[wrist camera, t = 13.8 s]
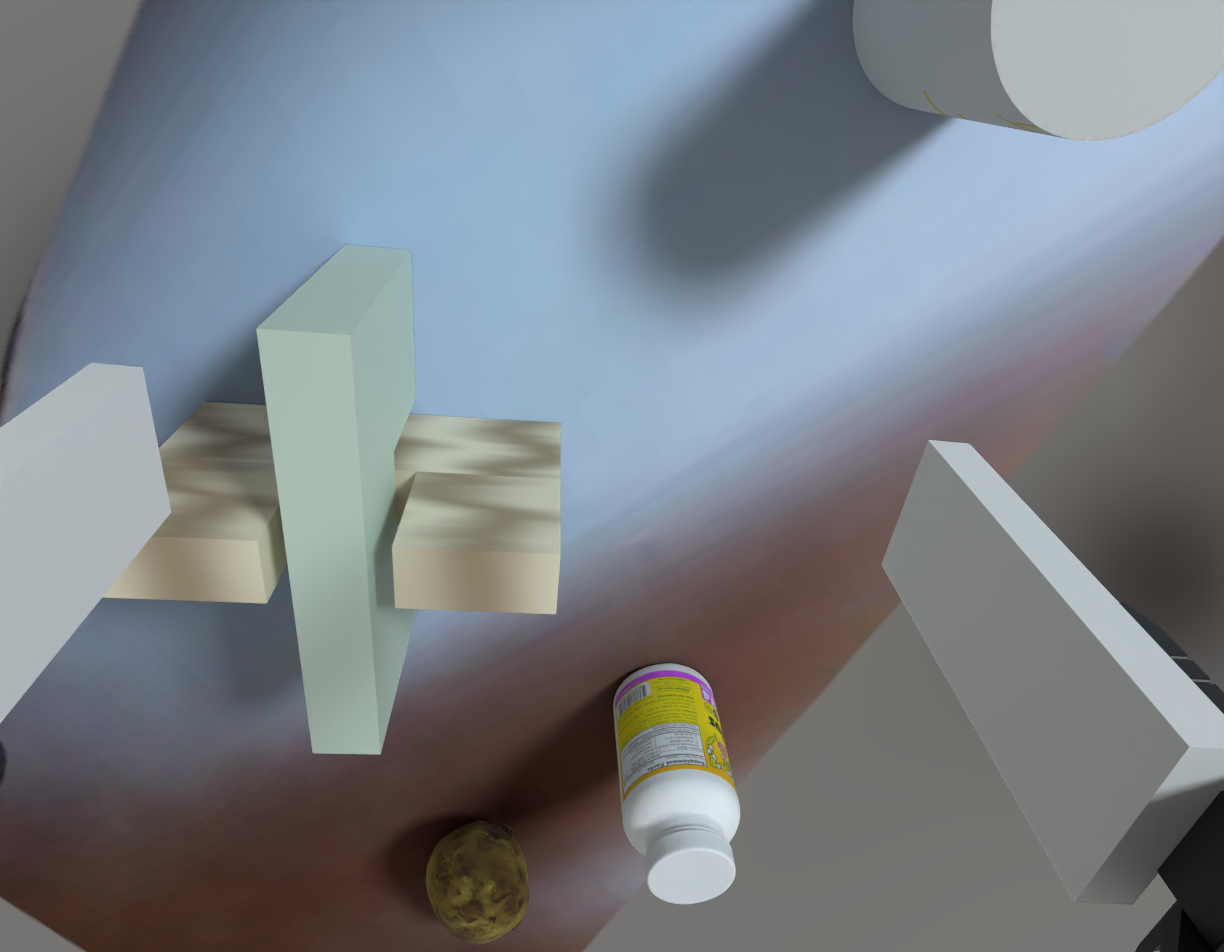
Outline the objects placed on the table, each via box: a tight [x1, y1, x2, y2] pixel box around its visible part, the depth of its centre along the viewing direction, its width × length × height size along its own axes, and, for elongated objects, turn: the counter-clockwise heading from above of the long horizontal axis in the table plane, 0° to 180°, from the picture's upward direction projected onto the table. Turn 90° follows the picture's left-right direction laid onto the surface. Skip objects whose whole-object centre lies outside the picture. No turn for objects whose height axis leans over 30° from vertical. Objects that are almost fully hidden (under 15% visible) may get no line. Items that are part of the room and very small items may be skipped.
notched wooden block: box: [103, 401, 561, 614], centre depth 35 cm, size 18×3×12 cm, turn 85°
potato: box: [425, 820, 529, 944], centre depth 54 cm, size 8×13×8 cm, turn 151°
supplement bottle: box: [613, 663, 740, 904], centre depth 45 cm, size 7×7×13 cm
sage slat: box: [256, 245, 417, 754], centre depth 35 cm, size 20×3×12 cm, turn 174°
